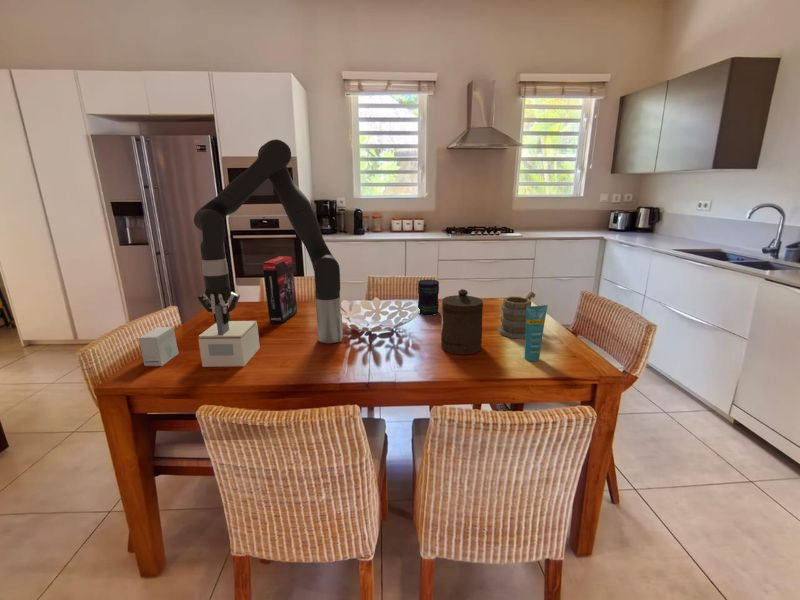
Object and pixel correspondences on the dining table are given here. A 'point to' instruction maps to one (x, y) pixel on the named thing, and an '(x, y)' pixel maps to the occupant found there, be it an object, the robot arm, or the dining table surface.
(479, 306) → the wooden container
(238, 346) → the carton
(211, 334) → the flap
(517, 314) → the tankard
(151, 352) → the skincare box
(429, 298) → the storage jar
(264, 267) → the graphics card box
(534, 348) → the tube
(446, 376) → the dining table surface
